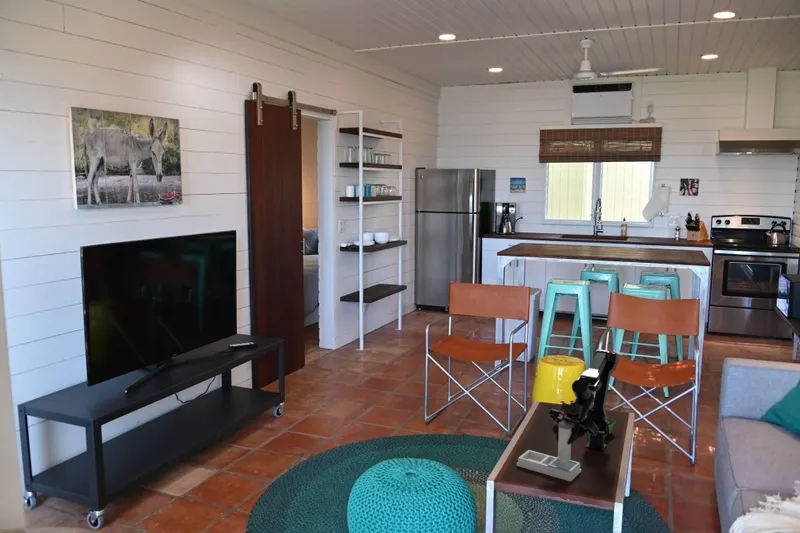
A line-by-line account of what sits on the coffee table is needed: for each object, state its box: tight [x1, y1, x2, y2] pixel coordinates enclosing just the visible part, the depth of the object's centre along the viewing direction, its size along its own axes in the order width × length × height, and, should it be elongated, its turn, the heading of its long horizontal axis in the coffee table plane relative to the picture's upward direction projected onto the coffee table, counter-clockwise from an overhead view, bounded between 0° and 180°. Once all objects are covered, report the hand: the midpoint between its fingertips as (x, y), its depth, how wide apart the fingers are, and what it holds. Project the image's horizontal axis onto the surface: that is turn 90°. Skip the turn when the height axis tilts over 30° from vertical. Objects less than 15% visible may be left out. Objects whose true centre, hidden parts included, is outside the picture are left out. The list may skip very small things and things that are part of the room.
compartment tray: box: [516, 449, 582, 482], centre depth 234 cm, size 10×21×4 cm, turn 53°
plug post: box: [557, 422, 573, 461], centre depth 229 cm, size 5×5×13 cm
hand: (562, 442), depth 228 cm, fingers closed on plug post, 4 cm apart
